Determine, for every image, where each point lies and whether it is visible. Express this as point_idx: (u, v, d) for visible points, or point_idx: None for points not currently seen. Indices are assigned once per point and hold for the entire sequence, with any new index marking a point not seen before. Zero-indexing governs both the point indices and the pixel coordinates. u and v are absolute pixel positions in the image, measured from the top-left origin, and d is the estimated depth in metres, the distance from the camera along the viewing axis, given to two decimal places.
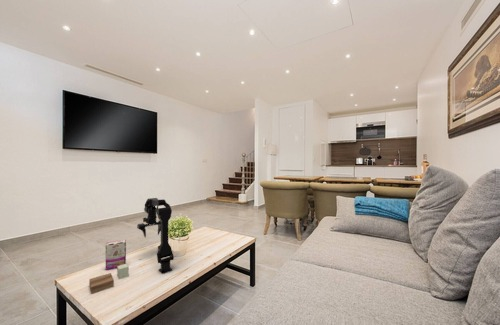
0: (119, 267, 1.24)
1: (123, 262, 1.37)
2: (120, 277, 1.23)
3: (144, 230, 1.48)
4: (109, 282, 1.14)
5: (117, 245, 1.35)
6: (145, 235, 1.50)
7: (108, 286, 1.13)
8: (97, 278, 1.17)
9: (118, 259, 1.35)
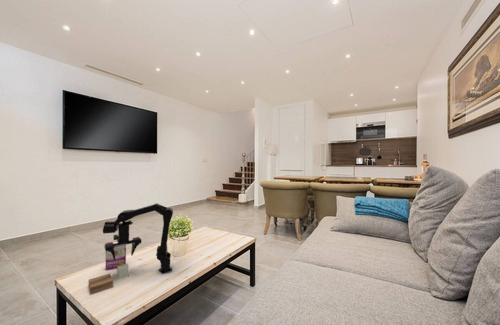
0: (119, 267, 1.24)
1: (123, 262, 1.37)
2: (120, 277, 1.23)
3: (112, 251, 1.20)
4: (108, 283, 1.13)
5: None
6: (114, 257, 1.22)
7: (108, 287, 1.13)
8: (97, 278, 1.16)
9: (118, 259, 1.35)
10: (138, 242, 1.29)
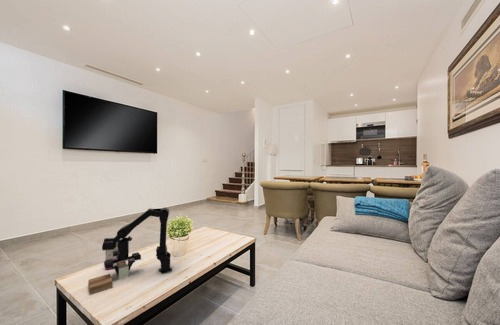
0: (119, 267, 1.24)
1: (123, 262, 1.37)
2: (120, 277, 1.23)
3: (116, 268, 1.21)
4: (108, 283, 1.13)
5: (117, 245, 1.35)
6: (117, 273, 1.23)
7: (107, 287, 1.12)
8: (96, 278, 1.16)
9: None
10: (138, 258, 1.28)
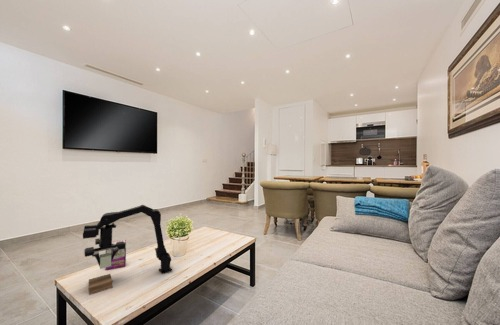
0: (101, 256, 1.16)
1: (123, 262, 1.37)
2: (102, 266, 1.14)
3: (97, 256, 1.13)
4: (108, 283, 1.13)
5: None
6: (99, 262, 1.14)
7: (107, 287, 1.12)
8: (97, 278, 1.16)
9: (118, 259, 1.35)
10: (122, 247, 1.20)
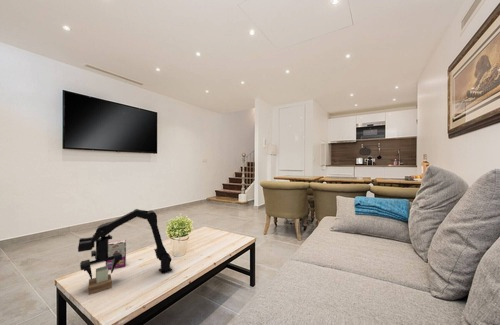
0: (98, 270, 1.14)
1: (123, 262, 1.37)
2: (98, 281, 1.12)
3: (89, 270, 1.09)
4: (107, 283, 1.12)
5: (117, 245, 1.35)
6: (91, 276, 1.11)
7: (106, 288, 1.12)
8: None
9: None
10: (118, 258, 1.18)
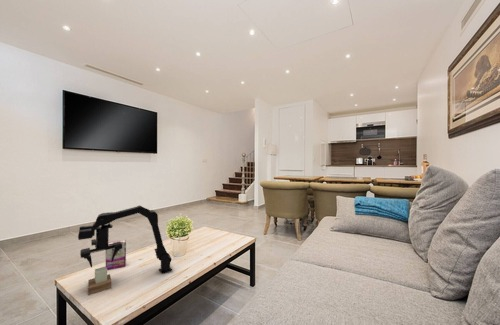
0: (97, 270, 1.13)
1: (123, 262, 1.37)
2: (97, 281, 1.12)
3: (89, 258, 1.09)
4: (107, 284, 1.12)
5: None
6: (91, 264, 1.11)
7: (106, 288, 1.12)
8: None
9: (118, 259, 1.35)
10: (118, 247, 1.18)
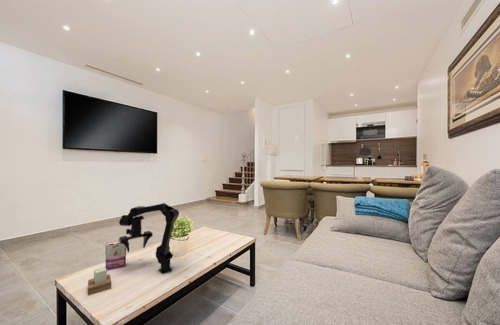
0: (96, 271, 1.13)
1: (123, 262, 1.37)
2: (97, 282, 1.11)
3: (127, 244, 1.30)
4: (106, 284, 1.12)
5: (117, 245, 1.35)
6: (128, 249, 1.32)
7: (106, 288, 1.12)
8: None
9: (118, 259, 1.35)
10: (150, 235, 1.39)
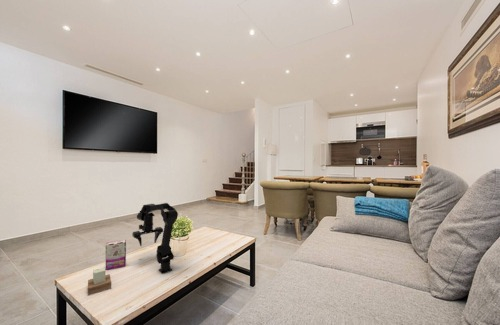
0: (95, 271, 1.12)
1: (123, 262, 1.37)
2: (96, 282, 1.11)
3: (140, 238, 1.39)
4: (106, 284, 1.12)
5: (117, 245, 1.35)
6: (141, 244, 1.40)
7: (106, 288, 1.12)
8: None
9: (118, 259, 1.35)
10: (160, 231, 1.47)
